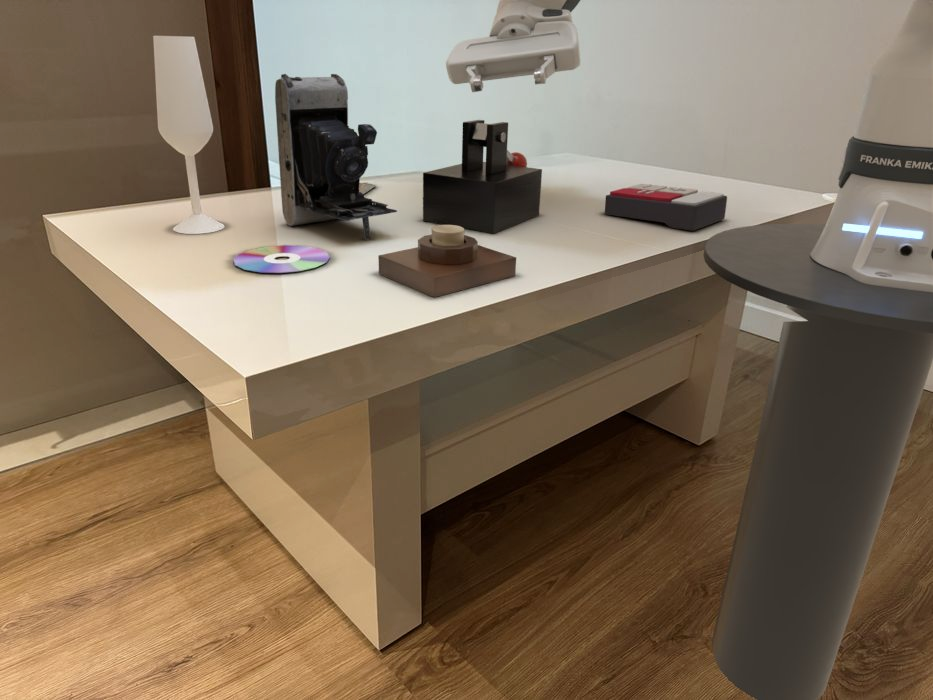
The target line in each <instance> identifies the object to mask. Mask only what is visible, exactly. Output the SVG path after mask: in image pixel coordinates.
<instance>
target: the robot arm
mask: <svg viewBox="0 0 933 700" xmlns="http://www.w3.org/2000/svg"><path fill="white" fill-rule="evenodd" d="M580 2H581V0H498V4H497V8H496V13H495V16H494V18H493V21H492V25H491V29H490V32H489V36H485V37H478V38H472V39H465V40H462V41H460V42H458V43H457V44H456V45H455V46H454V47H453V48H452V50H451V51H450V53H449V55H448V56H447V59H446V61H445V68H446V72H447V76H448V79H449V81H450V82H451V84H453V85H462V84H469V85H470V89H471V93H479V92H482V91H483V89H484V82H485V81H486V82H487V81H494V80H501V79H509V78H517V77H527V76H533V79H534V85H546V84H547V79H549V78H550V77H551V76H552V75H554V74H555V73H559V72H566V71H574V70H576V69H578V67H580V66H581V53H580V52H581V51H580V43H579V42H580V41H579V34H578V29H577V27H576V25H575V24H574V23H573V16H572V14H571V13H572V12H573V11H574V9H576V7H578V5H579V4H580ZM868 72H869V73H868V76H867V80H866V85H865V89H864V92H863V97H862V101H861V105H860V109H859V113H858V118H857V122H856V125H855V130H854V131H855V132H854V133H853V134H854V135H853V136H851V137H850V138H849V140H848V143H847V146H846V147H845V149H844V153H843V157H842V161H841V165H840V170H839V175H838V179H837V180H838V184H837V185H838V191H837V194H836V197H835V199H834V203H833V205H832V209H831V211H830V214H829V216H828V218H827V221H826V223H825V224H824V225H825V227H824V230H823V232H822V234H821V236H820V238H819V239H818V241H817V243H816V245H815V247H814V248H813V250H812V251H811V253H810V256H811V258H812V259H813V260H815V261H816V262H818V263H819V264H821V265H823V266H825V267H828V268H830V269H833V270H836V271H839V272H841V273H844V274H846V275H848V276H850V277H851V278H853V279H855V280H857V281H859V282H861V283H864V284H868V285H875V286H884V287H892V288H900V289H908V290H916V291H924V292H932V293H933V0H912V4H911V6H910V7H909V9H908V11H907V14H906V16H905V18H904V20H903V22H902V24H901V26H900V28H899V30H898V32H897V33H896V34H895V36H894V38H893V39H892V40H891V42H890V43H889V45H888V46H886V48H885V49H884V50H882V51H881V53H880V54H879V55H878V56H877V57H876V58H875V60H874V61H873V62H872V65H871V66H870V69H869V71H868Z"/></svg>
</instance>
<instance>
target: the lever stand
mask: <svg viewBox="0 0 933 700" xmlns="http://www.w3.org/2000/svg"><path fill="white" fill-rule="evenodd" d="M477 123H484V124H485V120H484V119H474V120H468V121H463V122H462V135H461V136H462V137H461V138H462V139H461V140H462V141H461V163H459V164H454V165H449V166H446V167H441V168H436V169H433V170H429V171H424V172H423V173H422V221H423V222H427V223H432V224H438V225H456V226H460V227H463V228H464V230H465V229H466V230H471V231H476V232H481V233H487V234H492V235H494V234H496V233H499V232H501V231H504V230H506V229H508V228H509V229H510V228H511V227H514V226H516V225H519V224H521V223H524V222H526V221H528V220H532V219H533V218H535V217H538V216H540V209H541V208H540V206H541V194H542V193H541V189H542V178H543V177H542V175H543V169H542V168H535V167H528V166H527V167H520V166H513V165H506V161H507V150H508V137H509V122H507V121H499V122H495V123H487V124H488V125H487V143H486V147H481V146H480V145H479V144H478V143H476V142H475V141H474V140H473V139H472V138H473V134H474V131H475V127H476V124H477ZM484 148H485V161H484Z"/></svg>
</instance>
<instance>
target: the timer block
mask: <svg viewBox="0 0 933 700" xmlns="http://www.w3.org/2000/svg"><path fill="white" fill-rule="evenodd" d="M478 243H479V242H478V240H477V239H476V238H475V237H472V236H470V235H466V234H464V244H462V245H458V246H441V245H435V244H432V233H431V234H427V235H426V234H425V235H423V236H422V237H420V238H419V239H418V240H417V247H412V248H407V249H403V250H397V251H393V252H388V253H384V254H379V255H378V256H377V257H378V275H381V276H382V277H385V278H388V279H390V280H392V281H394V282H397V283H399V284H402V285H404V286H405V287H408V288H411V289H414V290H415V291H419V292H421V293H422V294H425V295H427V296H430V297H433V298H438V297H441V296H446V295H449V294H452V293H453V294H454V293H456V292H459V291H463V290H467V289H471V288H474V287H479V286H482V285H486V284H489V283H493V282H497V281H500V280H504V279H508V278H511V277H515V276H516V272H517V271H516V269H517V257H516V256H513V255H510V254H507V253H505V252H501V251H498V250H495V249H491V248H489V247H486V246H482V245H479V244H478Z"/></svg>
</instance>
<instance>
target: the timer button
mask: <svg viewBox="0 0 933 700" xmlns="http://www.w3.org/2000/svg"><path fill="white" fill-rule="evenodd" d="M431 234H432V244H435V245H441V246H458V245H462V244H464V235H465V228H463V227H460V226H456V225H443V224H438V225H435V226H433V227H432V228H431Z"/></svg>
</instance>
